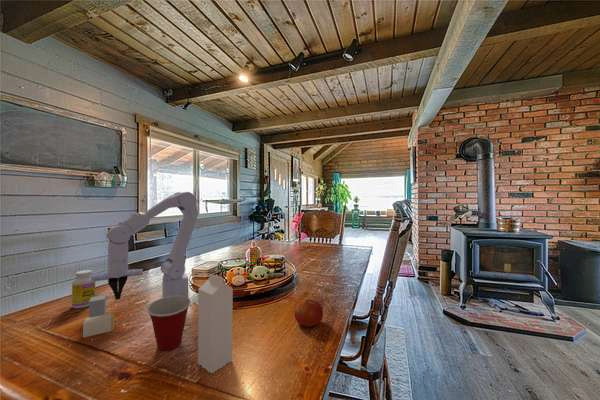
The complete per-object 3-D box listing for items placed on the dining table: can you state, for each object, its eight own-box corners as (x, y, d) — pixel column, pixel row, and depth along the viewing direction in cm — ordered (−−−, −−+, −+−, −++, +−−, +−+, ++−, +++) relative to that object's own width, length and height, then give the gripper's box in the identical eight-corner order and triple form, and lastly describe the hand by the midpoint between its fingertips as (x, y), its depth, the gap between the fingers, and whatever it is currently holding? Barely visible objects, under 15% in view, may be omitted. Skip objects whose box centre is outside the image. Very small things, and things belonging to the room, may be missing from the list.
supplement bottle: (81, 309, 88) (81, 274, 88) (67, 308, 90) (67, 273, 90) (99, 302, 95) (99, 269, 95) (86, 300, 96) (86, 268, 96)
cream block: (114, 312, 78) (85, 318, 74) (112, 317, 75) (82, 324, 71) (114, 325, 78) (85, 331, 74) (112, 330, 75) (82, 337, 71)
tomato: (290, 327, 78) (290, 302, 78) (300, 314, 86) (300, 292, 86) (317, 333, 74) (317, 308, 74) (325, 319, 83) (326, 296, 83)
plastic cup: (142, 362, 60) (143, 315, 60) (150, 339, 70) (150, 298, 70) (190, 352, 65) (190, 307, 65) (190, 331, 75) (191, 293, 75)
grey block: (106, 314, 85) (106, 294, 85) (104, 319, 82) (104, 299, 82) (91, 317, 83) (91, 297, 83) (89, 322, 80) (89, 301, 79)
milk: (218, 352, 65) (219, 270, 65) (232, 361, 61) (233, 274, 61) (197, 364, 60) (198, 276, 60) (211, 375, 57) (212, 281, 57)
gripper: (89, 265, 78) (88, 307, 78) (142, 259, 86) (142, 298, 86) (92, 260, 84) (92, 299, 84) (142, 255, 92) (142, 291, 92)
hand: (118, 298), depth 85 cm, fingers closed
